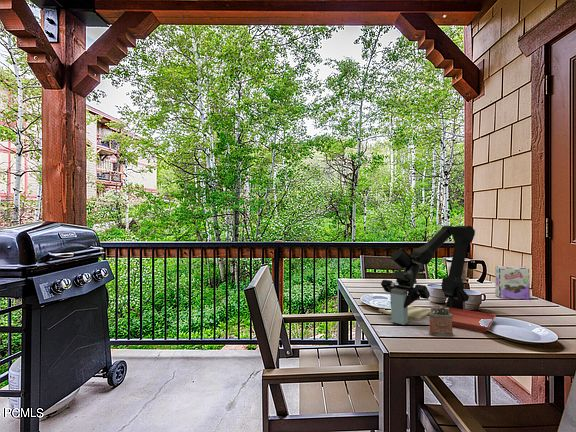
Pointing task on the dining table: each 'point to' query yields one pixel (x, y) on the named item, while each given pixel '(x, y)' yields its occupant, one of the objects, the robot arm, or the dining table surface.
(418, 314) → the birch board
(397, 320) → the slate block
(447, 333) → the reddish brown box
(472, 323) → the red flat slab
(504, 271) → the candy box
